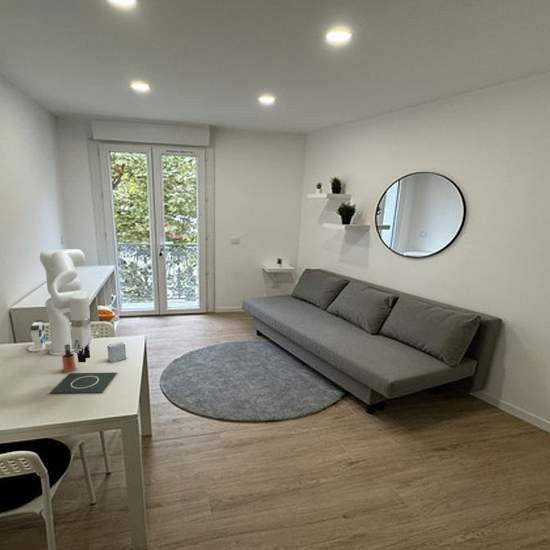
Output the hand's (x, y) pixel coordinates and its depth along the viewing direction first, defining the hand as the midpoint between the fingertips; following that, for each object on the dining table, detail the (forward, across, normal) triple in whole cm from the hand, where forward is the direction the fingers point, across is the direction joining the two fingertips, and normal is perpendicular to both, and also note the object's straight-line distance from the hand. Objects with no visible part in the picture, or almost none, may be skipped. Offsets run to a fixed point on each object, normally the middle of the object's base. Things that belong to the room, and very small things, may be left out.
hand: (84, 359), depth 161 cm
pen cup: (+13, -15, -14) cm, 24 cm away
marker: (+12, -15, -14) cm, 24 cm away
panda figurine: (+14, -44, -44) cm, 64 cm away
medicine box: (+13, -27, +5) cm, 30 cm away
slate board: (+13, -2, -1) cm, 13 cm away
